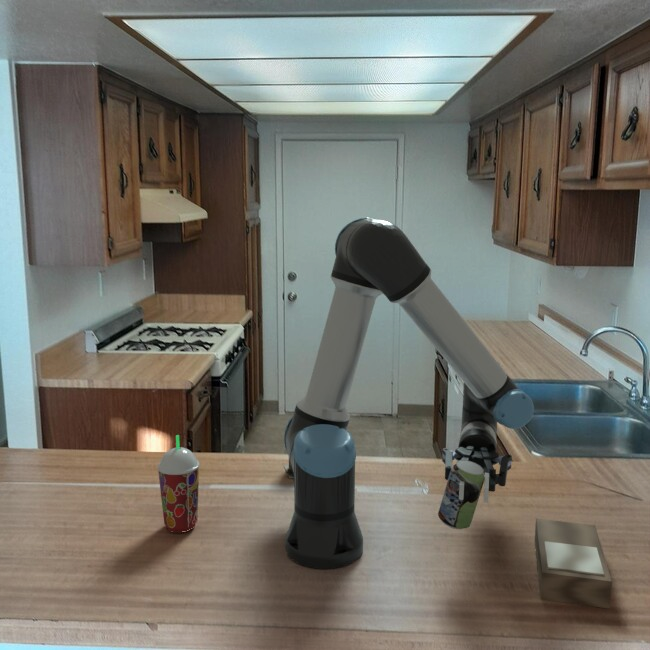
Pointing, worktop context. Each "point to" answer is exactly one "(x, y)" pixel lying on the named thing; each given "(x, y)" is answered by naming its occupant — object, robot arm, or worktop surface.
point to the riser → (571, 564)
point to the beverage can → (458, 510)
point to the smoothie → (179, 488)
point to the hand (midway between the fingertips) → (473, 493)
